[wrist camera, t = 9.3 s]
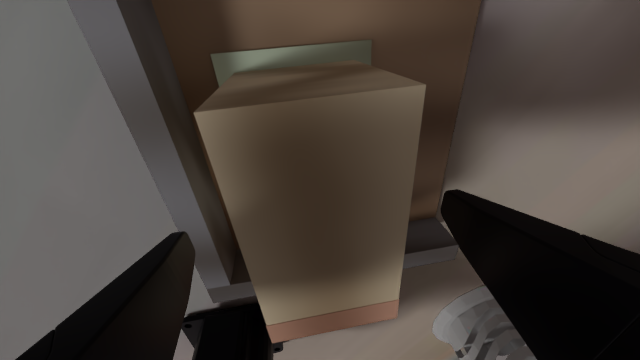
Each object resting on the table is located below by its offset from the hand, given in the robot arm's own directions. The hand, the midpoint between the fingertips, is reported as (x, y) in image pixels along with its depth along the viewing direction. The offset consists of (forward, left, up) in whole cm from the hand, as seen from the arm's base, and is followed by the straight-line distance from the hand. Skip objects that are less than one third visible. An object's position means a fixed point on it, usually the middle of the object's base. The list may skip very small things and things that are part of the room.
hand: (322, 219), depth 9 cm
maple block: (0, 0, -5) cm, 5 cm away
